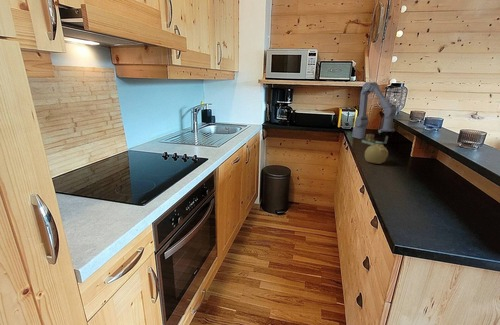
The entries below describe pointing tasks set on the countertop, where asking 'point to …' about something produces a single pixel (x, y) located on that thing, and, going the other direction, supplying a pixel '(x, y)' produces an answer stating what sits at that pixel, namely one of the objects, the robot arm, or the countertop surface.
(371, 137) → the oak block
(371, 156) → the pale yellow round ball
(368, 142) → the parts tray
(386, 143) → the metal peg
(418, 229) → the countertop surface
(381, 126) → the skincare box
